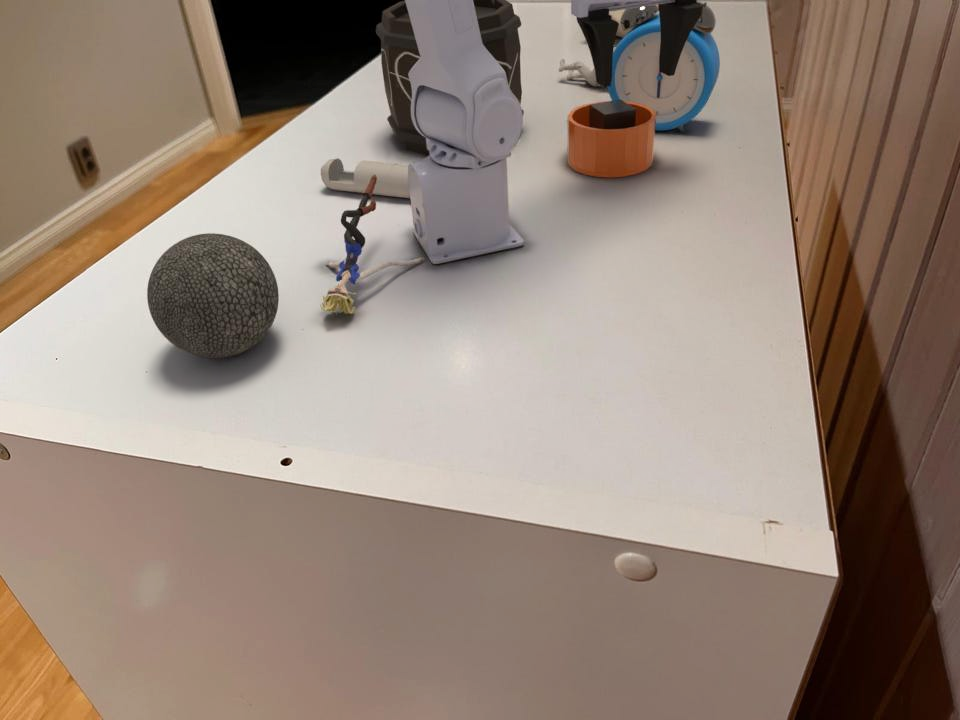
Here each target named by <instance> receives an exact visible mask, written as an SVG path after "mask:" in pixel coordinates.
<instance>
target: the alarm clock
mask: <svg viewBox="0 0 960 720" xmlns="http://www.w3.org/2000/svg"><path fill="white" fill-rule="evenodd" d="M697 3H700V4H702V5H703V11H702V15H701V17H700V18H699V20H698V21H697V22H696V24H695V26H694V27H693V29H692V31H691V33H690V34H689V36H688V38H687V40H686V43H685V45H684V47H683V50H682V52H681V55H680V58H679V61H678V64H677V67H676V70H675V74H674V75H673V76H668V75H666V74H664V73H662V72H660V70H659V55H660V42H661V30H660V16H659V13H658V14H656V13H657V12H658V11H659V9H658V7H657V5H651V6H644V7H637V8H631V9H626V10H625V11H624V12H623V14H622V16H621V18H620V27H621V30H622V31H625V30H628V29H630V28H632V27H633V28H632V29H631V30H630V31H629V32H628V33H627V34H626V35H625V37H624V38H623V37H622V38H621V40H620V41H619V42H618V44H617V45H616V46H615V47H614V50H613V60H612V80H611V86H609V87H607V90H608V95H609V98H610V101H613V100H619V99H621V100H622V101H625V102H632V103H638V104H641V105H644V106H647V107H649V108H651V109H652V110H654V112H655V113H656V129H655V132H656V131H657V132H660V131H661V132H662V131H670V130H674V129H677V128H678V129H679V131H680V132H681V133H684V132H685V130H684V125H686V124H687V123H689V122H690V121H692V120H693V119H695V118H696V117H697V116H698V115H699V113H700V112H701V111H702V110H703V109H704V107H706V104H707V103H708V101H709V99H710V98H711V95H712V93H713V91H714V88H715V86H716V84H717V82H718V78H719V74H720V66H721V63H720V62H721V60H720V59H721V58H720V52H719V47H718V46H717V42H716V40H715V38H714V36H713V35H712V32H713V31H714V30H715V27H716V21H717V20H716V16H715V14H714V11H713V10H712V8H711V7H710V6H709V5H707V4H708V3H707V2H706V1H704V2H702V1H700V0H697Z"/></svg>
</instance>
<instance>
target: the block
mask: <svg viewBox="0 0 960 720" xmlns="http://www.w3.org/2000/svg"><path fill="white" fill-rule="evenodd" d="M601 102H602V103H596V104H590V103H589V104H590V108H589V127H591V128H597V129H625V128H630V127H635V124H636V109H635V108H634V107H632V106H630V105H629V104H627V103H626V102H624V101H622V100H621V99H619V100H613V101H612V100H608V101H607V102H604V101H601Z"/></svg>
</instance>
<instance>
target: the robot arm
mask: <svg viewBox="0 0 960 720" xmlns="http://www.w3.org/2000/svg"><path fill="white" fill-rule="evenodd" d="M404 1H405V2H406V6H407V9H408V13H409V17H410V20H411V24H412V28H413V31H414V35H415V39H416V42H417V46H418V50H419V53H420V59H419V60H418V61H417V62H416V64H415V65H414V66H413V67H412V69H411V70H410V72H409V74H408V76H409V79H410V83H411V88H412V100H411V118H412V121H413V124H414V126H415V128H416V130H417V131H418V132H419V133H420V134H421V135H422V136H424V137H426V144H427V150H429V151H430V155H428V156H426V157H424V158H423V159H420V160H417V161H414V162H411V163H408V165H409V166H408V183H409V191H410V198H409V200H410V207H411V215H412V223H413V228H412V233H413V234H414V236H415V237H416V239H417V241H418V242H419V245H420V246H421V248H422V249H423V251H424V253H425V255H426V256H427V257H428V259H429V261H430V263H431V264H434V265H438V264H443V263H449V262H452V261H457V260H458V261H459V260H462V259H466V258H473V257H476V256H481V255H484V254H485V255H486V254H490V253H495V252H499V251H505V250H508V249H513V248H518V247H522V246H524V244H525V240H524V239H523V237H522V236H521V235H520V234H519V233H518V232H517V230H516V229H515V228H514V227H513V226H512V225H511V223H510V207H509V205H510V204H509V183H508V182H509V181H508V158H509V157H511V156H512V152H513V151H512V150H514V148H515V147H516V145H517V143H518V141H519V139H520V136H521V133H522V129H523V124H524V123H523V122H524V114H523V113H522V110H523V109H522V106H521V105H520V103H519V101H518V99H517V98H516V97H515V95H514V94H513V93H512V92H511V90H510V88H509V85H508V82H507V77H506V72H505V71H504V69H503V68H502V67H501V66H500V64H499V63H498V62H497V61H496V60H495V58H494V57H493V56H492V55H491V54H490V53H489V51H488V50H487V49H486V48H485V46H484V45H483V43H482V39H481V34H480V30H479V25H478V21H477V16H476V11H475V7H474V2H473V0H404ZM570 1H571V3H570V14H571V15H572V16H574V17H576V23H577V24H578V26H579V28H580V30H581V32H582V34H583V37H584V39H585V41H586V44H587V47H588V49H589V53H590V56H591V57H590V58H591V60H592V65H593V69H595V75H596V82H597V83H598V84H600V85H601V86H600V87H603V88H608V87H609V86H611V80H612V60H613V52H614V50H615V42H616V37H617V36H616V34H617V30H618V26H619V23H618V22H617V21H614V20H612V15H609V12H610V11H617V10H624V9H631V8H637V7H644V6H651V5H658V8H659V16H660V30H661V42H660V55H659V70H660V72H662V73H664V74H666V75H668V76H673V75H674V74H675V70H676V67H677V64H678V61H679V58H680V55H681V52H682V50H683V47H684V45H685V43H686V40H687V38H688V36H689V34H690V33H691V31H692V29H693V27H694V26H695V24H696V22H697V21H698V20H699V18H700V17H701V15H702V11H703V5H702V4H700V3H697V1H698V0H570Z"/></svg>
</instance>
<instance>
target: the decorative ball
mask: <svg viewBox="0 0 960 720" xmlns="http://www.w3.org/2000/svg"><path fill="white" fill-rule="evenodd" d="M146 290H147V291H146V296H147V297H146V298H147V306H148V310H149V313H150V316H151V318H152V320H153V323H154V324H155V325H154V326H156V328H157V330H158V331H159V332H160V333H161V335H162V337H164V338H165V339H166V340H167V341H168V342H169V343H171V344H172V345H173V346H175V347H176V348H178V349H179V350H181V351H183V352H185V353H187V354H190V355H193V356H196V357H200V358H208V359H222V358H223V359H224V358H229V357H234V356H236V355H239V354H242V353H244V352H246V351H247V350H249V349H251V348H252V347H254V346H255V345H257V344H258V343H260V341H261V340H263V338H264V337H265V336H266V335H267V333H269V331H270V329H271V328H272V325H273V323H274V322H275V319H276V316H277V313H278V309H279V300H280V299H279V298H280V297H279V296H280V294H279V286H278V282H277V279H276V276H275V273H274V271H273V269H272V267H271V265H270V263H269V262H268V260H267V259H266V258H265V257H264V256H263V254H262V253H261V252H259V251H258V250H257V249H256V248H255V247H254V246H252V245H251V244H249V243H248V242H246V241H244V240H242V239H240V238H237V237H235V236H232V235H229V234H223V233H215V232H211V233H209V232H208V233H199V234H195V235H191V236H188V237H185V238H183V239H180V240H179V241H178V242H176V243H174V244H173V245H172V246H170V247H168V249H166V250H165V251H164V252H163V253H162V254H161V256H160V257H159V258H158V259H157V261H156V262H155V264H154V266H153V268H152V270H151V272H150V275H149V279H148V282H147V289H146Z"/></svg>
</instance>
